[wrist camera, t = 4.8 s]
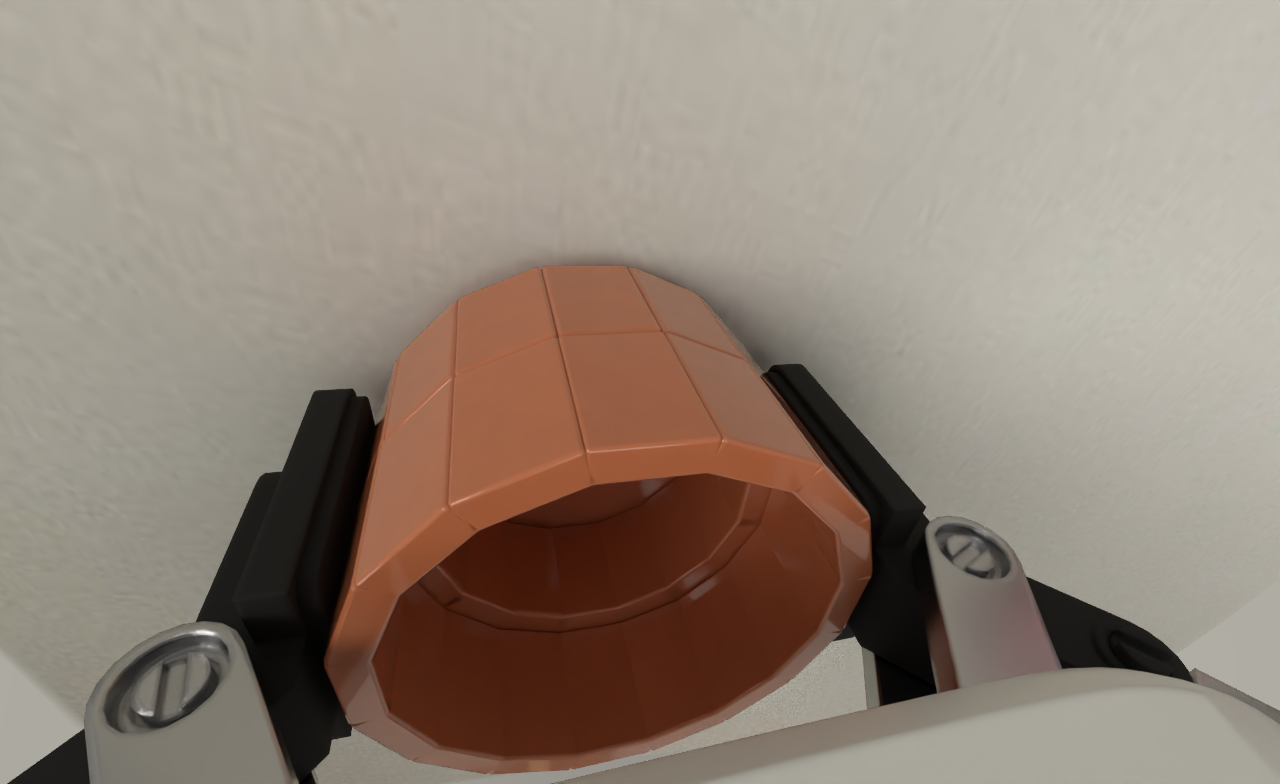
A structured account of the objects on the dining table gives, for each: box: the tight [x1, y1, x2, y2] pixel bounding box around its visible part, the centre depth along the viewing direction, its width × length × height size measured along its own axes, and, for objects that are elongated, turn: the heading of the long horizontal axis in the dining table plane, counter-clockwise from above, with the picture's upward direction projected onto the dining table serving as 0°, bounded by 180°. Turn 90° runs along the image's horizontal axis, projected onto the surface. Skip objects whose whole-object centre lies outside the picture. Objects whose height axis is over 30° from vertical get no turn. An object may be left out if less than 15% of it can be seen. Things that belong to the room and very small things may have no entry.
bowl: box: [323, 266, 873, 774], centre depth 9 cm, size 7×7×5 cm
